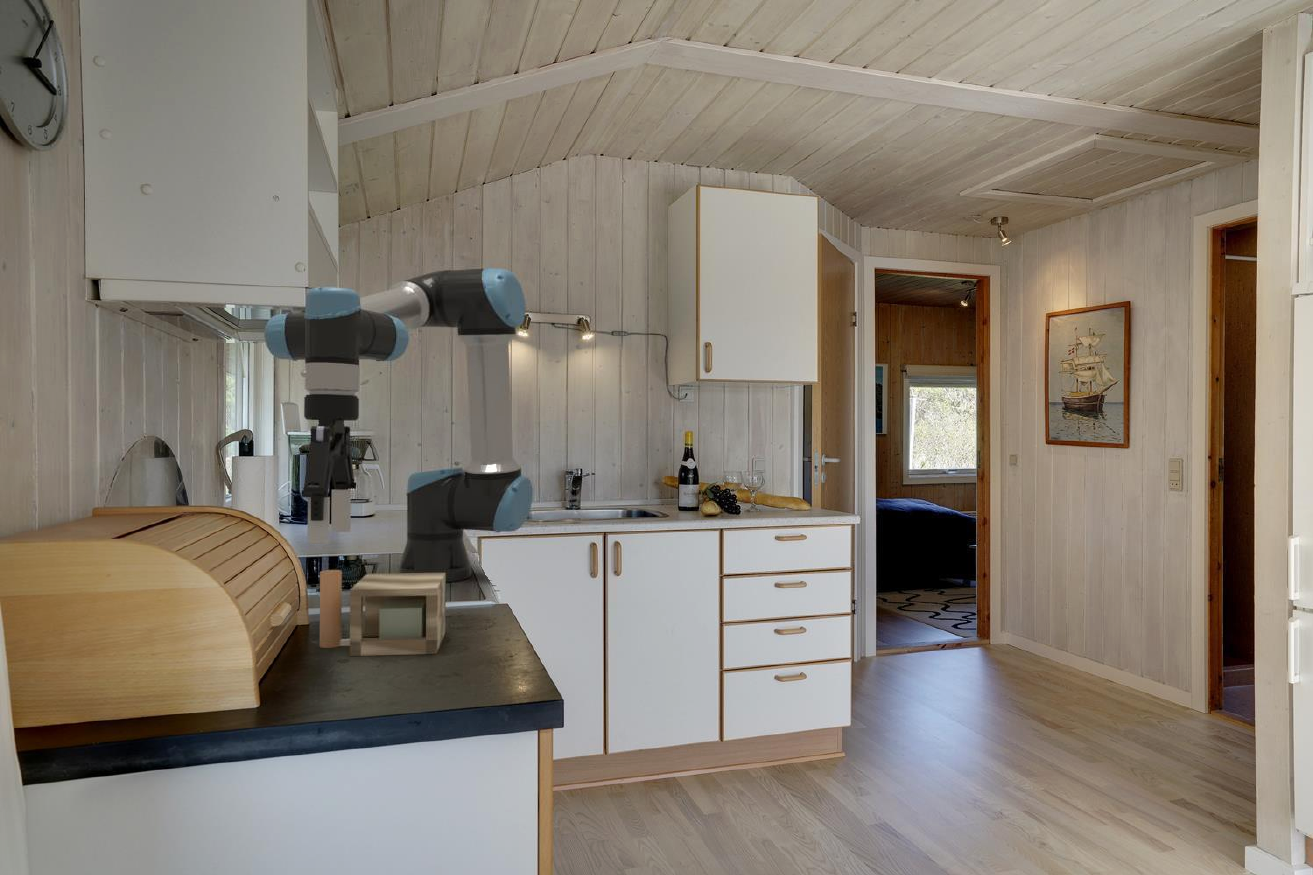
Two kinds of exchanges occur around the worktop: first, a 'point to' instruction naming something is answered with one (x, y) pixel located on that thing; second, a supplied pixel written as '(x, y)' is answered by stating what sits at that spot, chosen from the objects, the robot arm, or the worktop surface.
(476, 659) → the worktop surface
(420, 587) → the open wooden box
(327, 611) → the block with rod
